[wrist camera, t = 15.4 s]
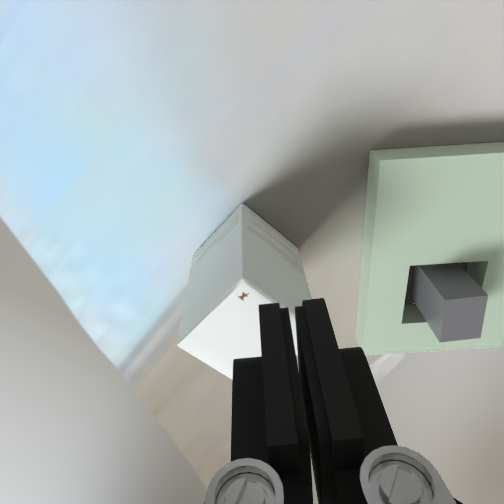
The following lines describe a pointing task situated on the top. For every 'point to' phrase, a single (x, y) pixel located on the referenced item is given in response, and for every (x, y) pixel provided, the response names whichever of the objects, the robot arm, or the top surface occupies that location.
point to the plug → (449, 301)
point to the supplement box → (239, 290)
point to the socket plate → (430, 240)
